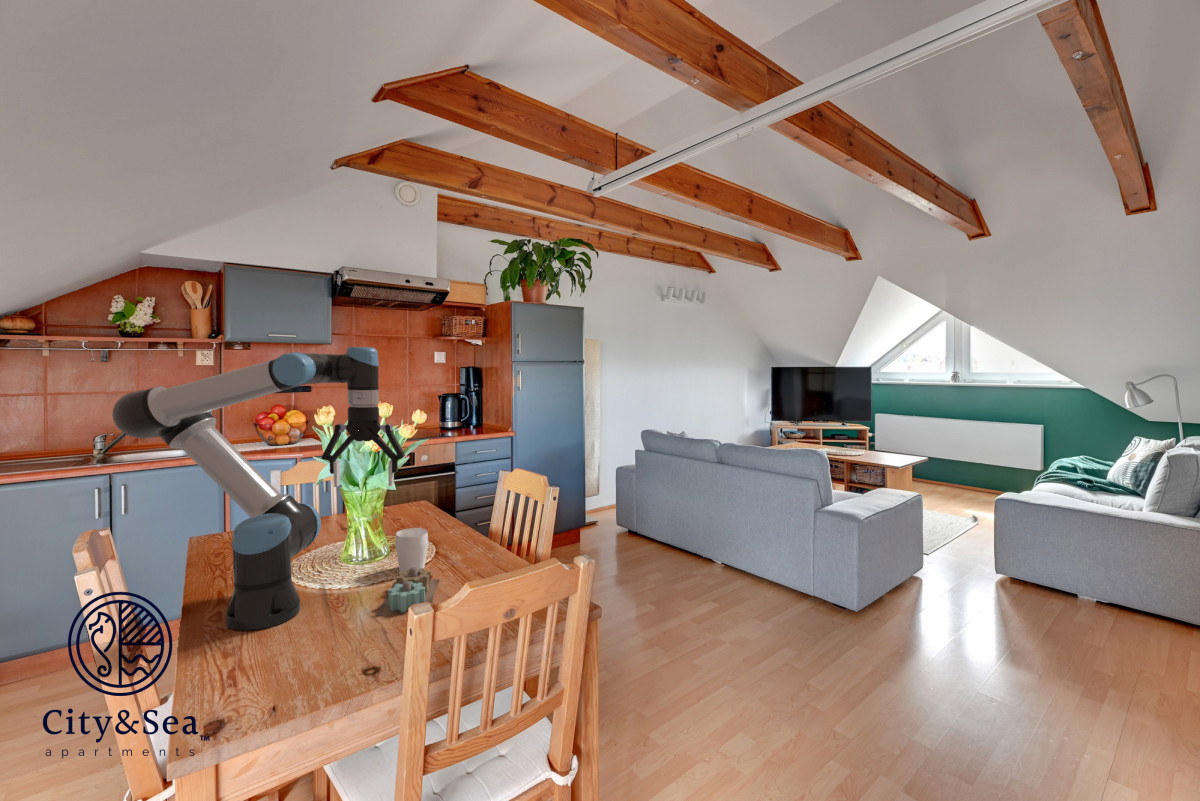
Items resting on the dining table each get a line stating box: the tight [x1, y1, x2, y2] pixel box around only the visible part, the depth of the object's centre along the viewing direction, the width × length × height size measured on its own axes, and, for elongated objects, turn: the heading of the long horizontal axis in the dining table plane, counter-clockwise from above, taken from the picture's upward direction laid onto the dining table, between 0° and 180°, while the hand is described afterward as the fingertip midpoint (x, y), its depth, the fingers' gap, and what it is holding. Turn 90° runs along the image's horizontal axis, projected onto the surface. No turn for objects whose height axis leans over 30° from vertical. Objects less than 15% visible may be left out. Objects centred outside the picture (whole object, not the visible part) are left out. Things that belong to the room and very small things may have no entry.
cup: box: [394, 527, 429, 572], centre depth 154 cm, size 9×9×12 cm
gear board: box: [375, 567, 440, 617], centre depth 136 cm, size 12×20×7 cm, turn 9°
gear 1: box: [395, 567, 431, 592], centre depth 141 cm, size 9×9×4 cm
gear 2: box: [387, 582, 425, 612], centre depth 132 cm, size 9×9×4 cm
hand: (364, 485), depth 140 cm, fingers open, 13 cm apart
